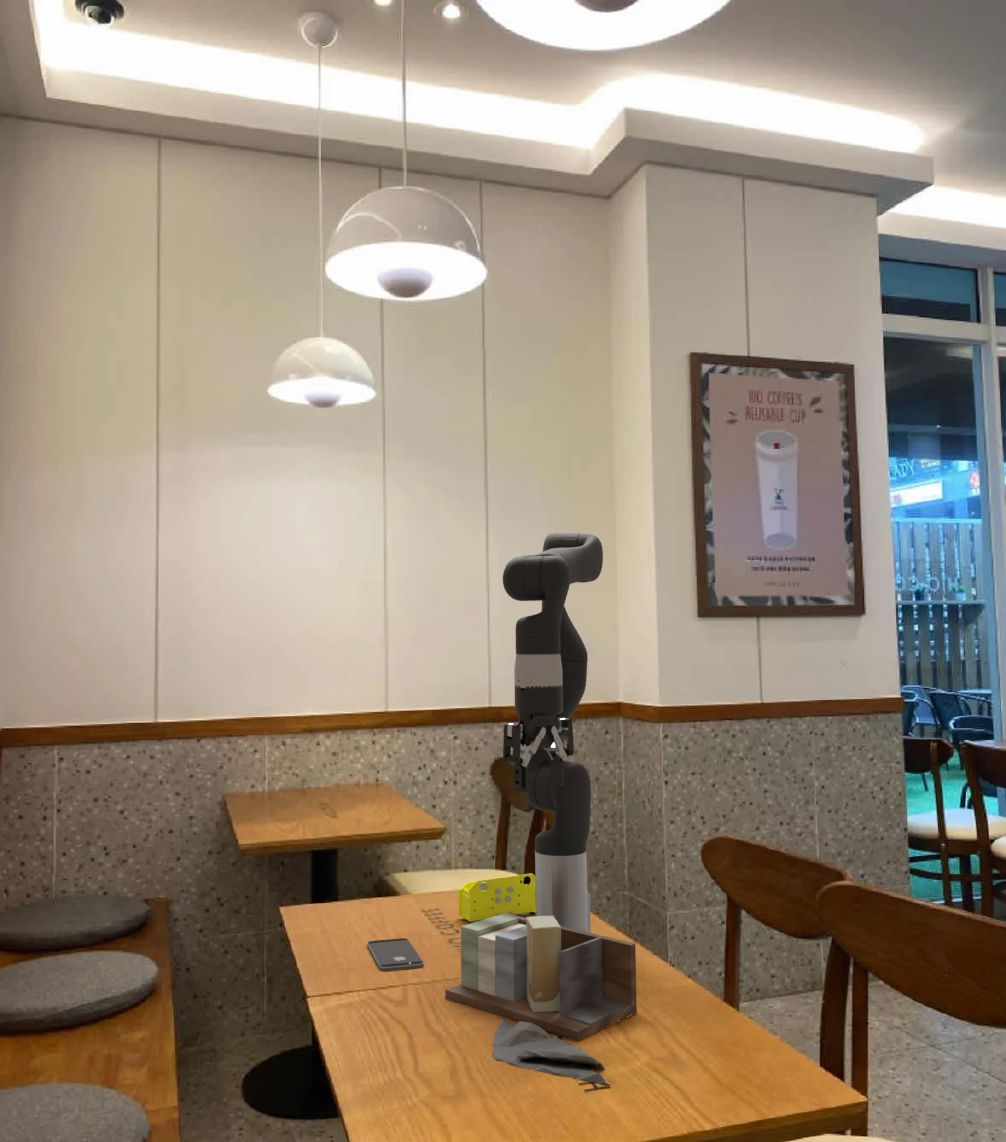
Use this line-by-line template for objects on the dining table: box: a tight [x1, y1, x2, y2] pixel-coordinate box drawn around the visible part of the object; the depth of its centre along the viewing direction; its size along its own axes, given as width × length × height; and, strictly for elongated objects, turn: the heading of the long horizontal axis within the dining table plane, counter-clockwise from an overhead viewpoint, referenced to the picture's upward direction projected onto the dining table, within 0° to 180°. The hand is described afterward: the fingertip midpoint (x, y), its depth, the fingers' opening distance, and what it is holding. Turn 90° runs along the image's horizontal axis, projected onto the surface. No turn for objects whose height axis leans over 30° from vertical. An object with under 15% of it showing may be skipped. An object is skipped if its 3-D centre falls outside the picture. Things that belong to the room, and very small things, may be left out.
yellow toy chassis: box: [458, 872, 536, 923], centre depth 203 cm, size 16×6×8 cm, turn 118°
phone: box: [366, 937, 425, 972], centre depth 178 cm, size 8×1×16 cm
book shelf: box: [444, 913, 638, 1042], centre depth 153 cm, size 14×26×10 cm, turn 48°
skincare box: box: [525, 915, 561, 1013], centre depth 150 cm, size 6×4×12 cm
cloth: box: [492, 1018, 611, 1086], centre depth 136 cm, size 26×14×2 cm, turn 19°
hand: (539, 788), depth 157 cm, fingers open, 8 cm apart
